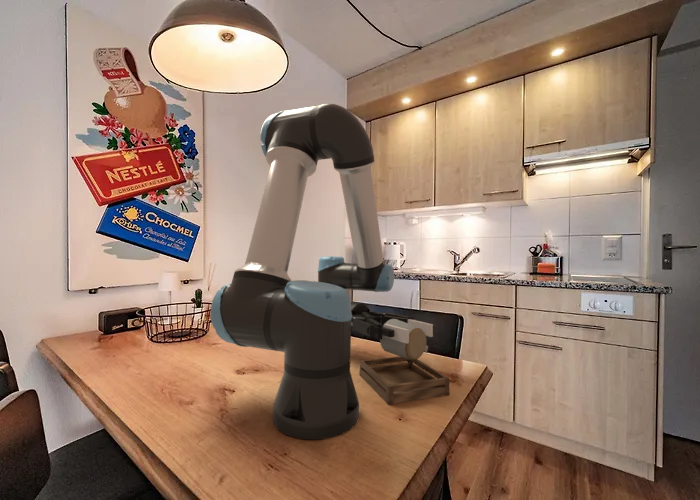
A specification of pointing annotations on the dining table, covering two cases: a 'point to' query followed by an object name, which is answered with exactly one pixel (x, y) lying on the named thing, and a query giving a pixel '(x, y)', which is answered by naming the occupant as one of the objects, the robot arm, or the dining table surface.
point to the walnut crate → (403, 380)
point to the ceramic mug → (402, 349)
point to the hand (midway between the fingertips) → (420, 333)
